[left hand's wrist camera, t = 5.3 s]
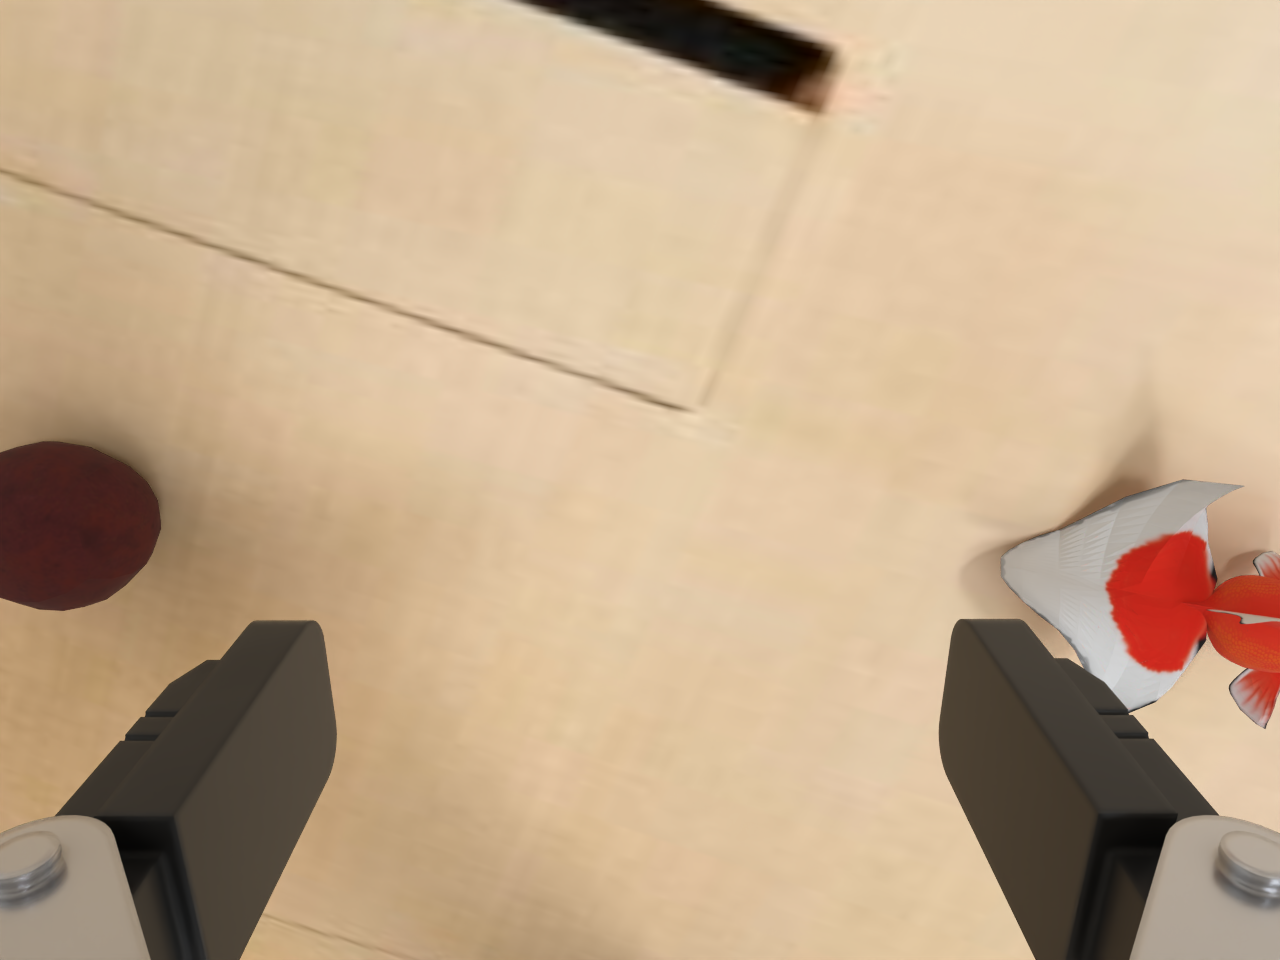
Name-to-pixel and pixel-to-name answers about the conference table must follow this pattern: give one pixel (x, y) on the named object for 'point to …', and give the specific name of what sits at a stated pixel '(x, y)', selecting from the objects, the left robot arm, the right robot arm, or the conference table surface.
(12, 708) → the conference table surface
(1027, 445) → the conference table surface
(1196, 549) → the fish
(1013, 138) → the conference table surface
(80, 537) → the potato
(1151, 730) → the conference table surface
